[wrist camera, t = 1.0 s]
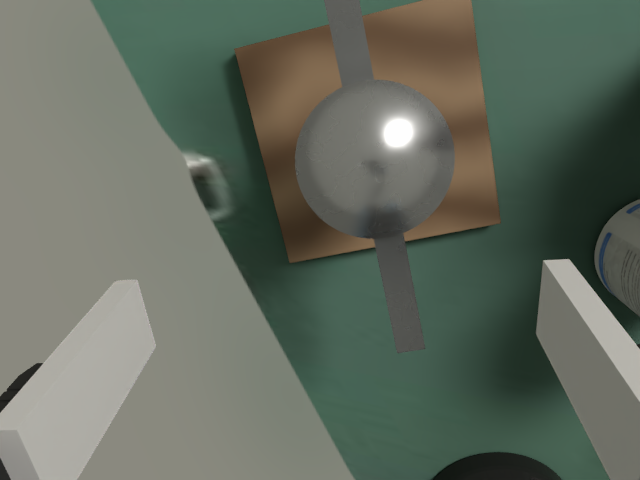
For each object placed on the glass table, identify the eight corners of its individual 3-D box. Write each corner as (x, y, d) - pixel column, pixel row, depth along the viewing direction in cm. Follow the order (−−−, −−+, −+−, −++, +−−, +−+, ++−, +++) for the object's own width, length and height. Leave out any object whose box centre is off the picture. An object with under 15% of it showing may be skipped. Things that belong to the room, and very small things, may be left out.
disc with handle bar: (471, 316, 36) (484, 344, 32) (345, 336, 37) (342, 366, 33) (402, -122, 28) (408, -153, 24) (247, -76, 29) (229, -99, 26)
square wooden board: (496, 218, 43) (531, 256, 34) (292, 257, 46) (273, 302, 37) (465, -9, 39) (497, -36, 29) (238, 49, 41) (202, 41, 32)
